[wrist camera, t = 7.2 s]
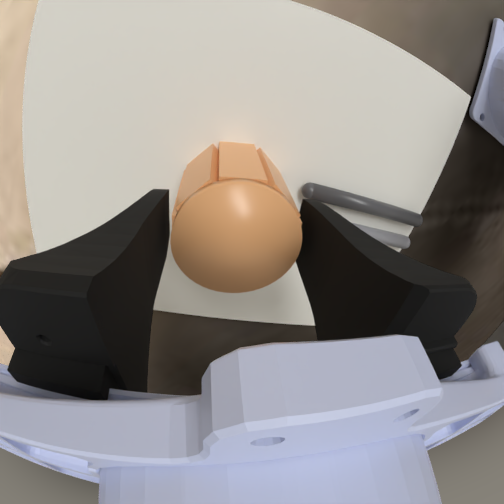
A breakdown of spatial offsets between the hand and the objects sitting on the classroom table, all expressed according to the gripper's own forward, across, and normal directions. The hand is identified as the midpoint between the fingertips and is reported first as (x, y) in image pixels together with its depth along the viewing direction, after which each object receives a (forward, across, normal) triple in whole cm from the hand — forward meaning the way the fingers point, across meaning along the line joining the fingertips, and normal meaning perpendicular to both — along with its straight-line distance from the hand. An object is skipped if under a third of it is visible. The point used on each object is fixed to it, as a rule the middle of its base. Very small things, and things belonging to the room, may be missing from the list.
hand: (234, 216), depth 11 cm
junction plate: (+4, 0, 0) cm, 4 cm away
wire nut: (+3, 0, 0) cm, 3 cm away
